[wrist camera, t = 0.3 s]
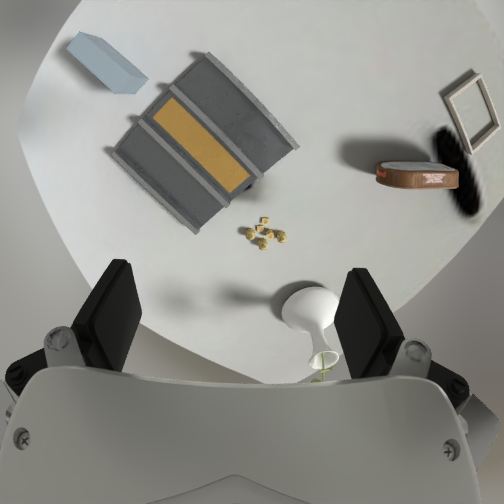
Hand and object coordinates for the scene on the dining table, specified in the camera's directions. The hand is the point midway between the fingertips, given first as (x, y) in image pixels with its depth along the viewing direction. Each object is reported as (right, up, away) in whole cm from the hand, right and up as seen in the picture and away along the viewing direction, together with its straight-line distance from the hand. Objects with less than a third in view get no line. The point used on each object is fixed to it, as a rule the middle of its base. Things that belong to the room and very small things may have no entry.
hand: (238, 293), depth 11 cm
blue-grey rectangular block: (-19, +29, +18) cm, 39 cm away
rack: (-6, +17, +25) cm, 31 cm away
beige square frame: (+41, +27, +20) cm, 53 cm away
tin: (+26, +16, +27) cm, 41 cm away
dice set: (+3, +5, +33) cm, 34 cm away
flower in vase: (+11, -9, +41) cm, 44 cm away
